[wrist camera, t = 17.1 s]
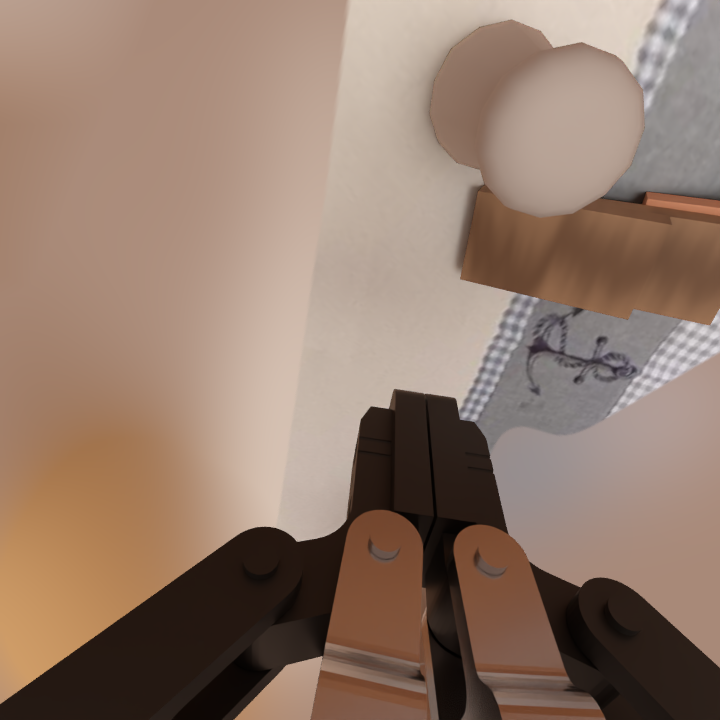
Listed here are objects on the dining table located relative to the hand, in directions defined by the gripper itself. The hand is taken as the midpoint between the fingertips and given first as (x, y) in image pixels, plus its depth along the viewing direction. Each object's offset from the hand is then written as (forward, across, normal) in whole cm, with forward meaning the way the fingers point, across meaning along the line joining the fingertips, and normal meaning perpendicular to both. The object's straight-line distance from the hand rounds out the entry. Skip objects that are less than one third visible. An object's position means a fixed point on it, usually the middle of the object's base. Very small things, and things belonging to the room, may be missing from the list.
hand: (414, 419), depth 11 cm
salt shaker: (+18, -3, -6) cm, 19 cm away
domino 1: (+17, -4, 0) cm, 17 cm away
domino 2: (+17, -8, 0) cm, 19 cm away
